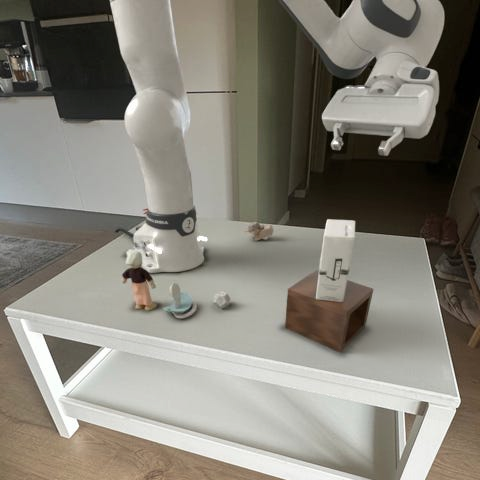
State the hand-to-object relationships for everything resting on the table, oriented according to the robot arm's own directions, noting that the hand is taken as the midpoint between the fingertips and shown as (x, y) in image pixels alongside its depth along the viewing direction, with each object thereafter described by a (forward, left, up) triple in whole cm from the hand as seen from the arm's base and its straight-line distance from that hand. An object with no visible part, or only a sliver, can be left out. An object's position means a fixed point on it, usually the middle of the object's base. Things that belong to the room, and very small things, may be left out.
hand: (357, 150), depth 68 cm
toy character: (-33, +13, -30) cm, 46 cm away
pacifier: (-20, -29, -30) cm, 46 cm away
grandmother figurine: (-28, -33, -30) cm, 53 cm away
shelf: (+6, -15, -29) cm, 34 cm away
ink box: (+6, -16, -21) cm, 27 cm away
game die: (-15, -22, -30) cm, 40 cm away
